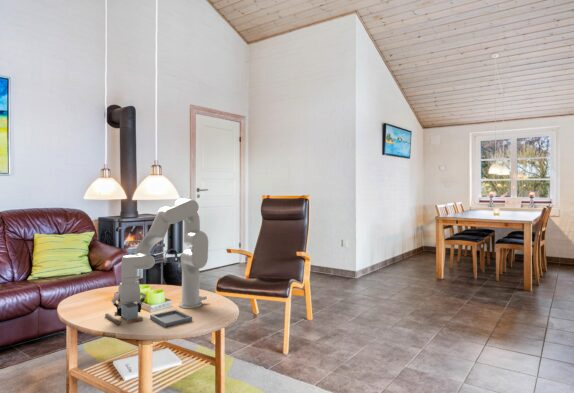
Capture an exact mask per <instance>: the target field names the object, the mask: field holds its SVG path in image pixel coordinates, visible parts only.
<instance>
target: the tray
mask: <svg viewBox="0 0 574 393" xmlns="http://www.w3.org/2000/svg"><path fill="white" fill-rule="evenodd" d="M149 319H150V320H151V321H153V322H155V323H157V324H158V325H160V326H162V327H164V328H168V327H173V326H177V325H181V324H185V323H190V322H193V316H191V315H189V314H187V313H185V312H184V311H183V312H182V311H180V310H178V309H173V310H167V311H163V312H158V313H153V314H150V316H149Z"/></svg>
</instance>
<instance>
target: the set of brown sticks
mask: <svg viewBox="0 0 574 393" xmlns="http://www.w3.org/2000/svg"><path fill="white" fill-rule="evenodd" d="M104 316H105V318H106V319H108V320H110V322H112V323H113V324H116V326H118V327H119V326H121V325H122V322H121V320H119V319H117V318H116V317H114V316H118V315H117V311H114V316H113V315H112V314H110V313H105V314H104ZM142 321H143V316H138V318H134V319H129V320H126V322H127V324H133V323H137V322H142Z"/></svg>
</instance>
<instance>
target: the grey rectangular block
mask: <svg viewBox="0 0 574 393" xmlns="http://www.w3.org/2000/svg"><path fill="white" fill-rule="evenodd" d="M121 309H122V311H121V316H120V317H121V318H123V319H125V320H126V321H127V320H129V319H134V318H139V312H138V305H137V303H136V302H132V303H126V304H123V305H122V306H121Z"/></svg>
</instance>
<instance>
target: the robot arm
mask: <svg viewBox="0 0 574 393" xmlns="http://www.w3.org/2000/svg"><path fill="white" fill-rule="evenodd" d="M199 207H200V206H199V203H198V202H197V201H196V200H195V199H192V198H191V199H190V198H179V199H177V200H176V201H175V203H174V206H171V207H170V206H163V207H160V208H159V209H158V211H157V213H156V215H155V216H154V220H153V222H152V224H151V226H150V228H149V230H148V231H147V233H146V234H145V236H143V238H142V239H141V240H140V241H139V243H138V244H137V246H136V249H135V251H134V253H133V254H127V255H123V256H122V257H121V282H120V283H119V285H118V291H117V295H116V297H114V298H112V299H111V300H110V301H111V304H113V306H114V307H116V312H117V315H116V316H118V317H121V311H122V309H121V306H122V305H123V304H126V303H132V302H133V303H136V302H137V303H136V304H137V305H138V313H141V310H142V305H143V303H144V302H145V300H146V298H147V294H146V293H144V292H141V287H140V282H139V279H141V277H140V276H139V275H138V274H139V273H138V270H149V269H151V268H153V267H154V266H155V263H156V261H155V260H156V259H155V258H154V256H153V255H151V254H150V253H151V252H150V251H151V250H152V249H153V247H154V246H155V245H156V244H158V243H159V242H161V241H162V240H164V239H165V237H166V235H167V233H168V230H169V228H170V227H171V225H172V224H178V223H180V222H182V221H183V223H184V224H183V226H184V227H183V243H184V244H185V245H186V246H187V247H191V248H187V249H185V250H184V251H182V253H181V254H180V265H181V301H180V302H179V303H178V307H179V308H182V309H197V308H200V307H201V306H203V301H206V300H207V299H208V297H207V296H206V295H205V296H202V295H200V277H201V276H200V275H201V274H200V270H201V269H203V268H204V267H206V265H207V263H208V260H209V258H208V257H209V238H208V235H207V234H206V233H205V232H204V231H203V230H201V219H200V216H199V213H198V211H199ZM141 296H142V297H141ZM116 301H117V302H116Z"/></svg>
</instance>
